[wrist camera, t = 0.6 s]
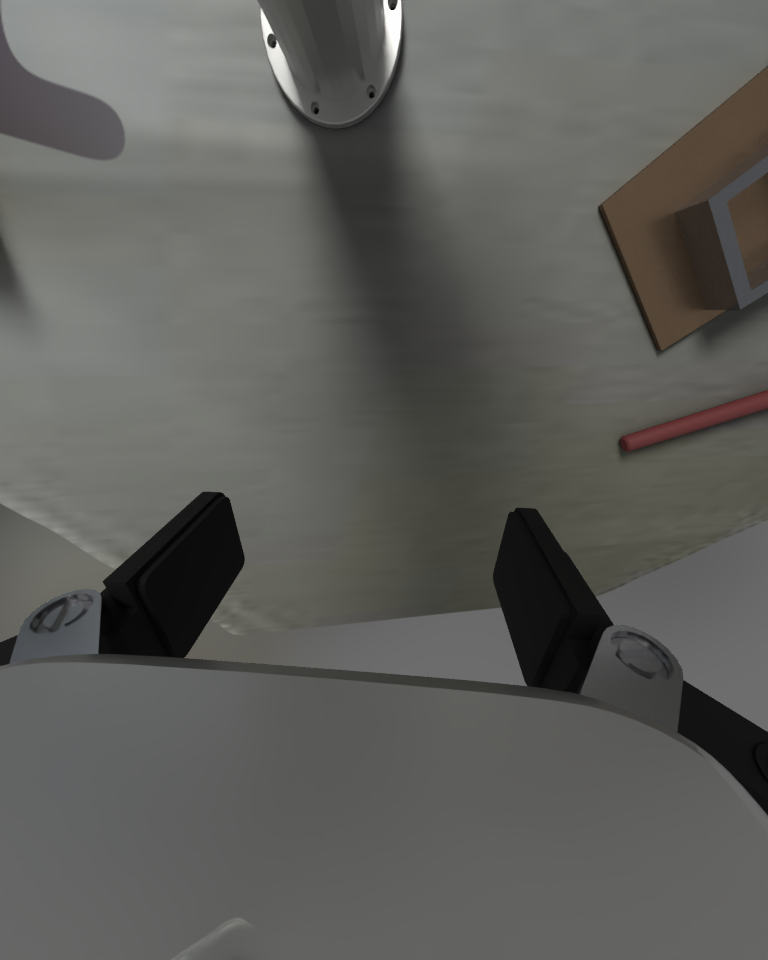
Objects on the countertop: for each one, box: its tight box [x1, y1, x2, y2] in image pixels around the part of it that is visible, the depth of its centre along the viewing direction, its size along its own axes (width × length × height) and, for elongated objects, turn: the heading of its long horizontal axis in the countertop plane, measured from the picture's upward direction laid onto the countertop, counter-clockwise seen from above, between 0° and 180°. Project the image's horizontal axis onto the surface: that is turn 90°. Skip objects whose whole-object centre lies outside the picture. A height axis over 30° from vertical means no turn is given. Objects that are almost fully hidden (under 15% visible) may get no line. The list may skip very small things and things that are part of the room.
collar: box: [598, 66, 768, 351], centre depth 30 cm, size 18×22×5 cm
